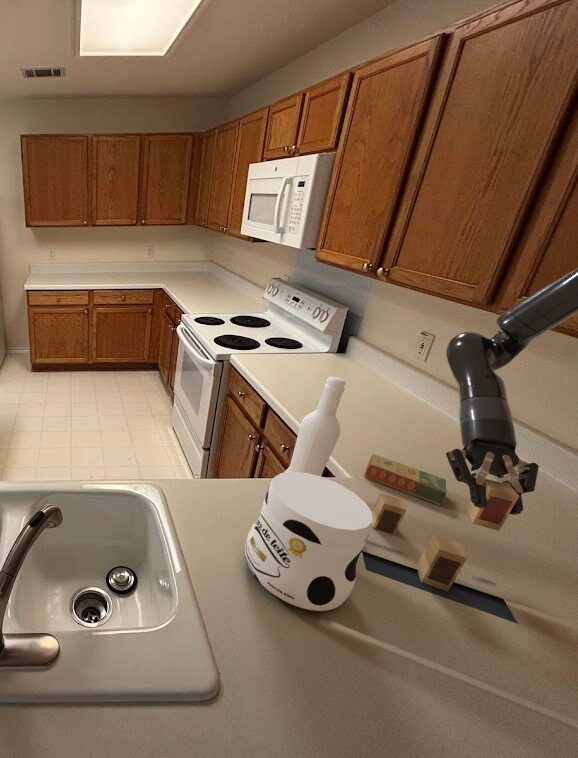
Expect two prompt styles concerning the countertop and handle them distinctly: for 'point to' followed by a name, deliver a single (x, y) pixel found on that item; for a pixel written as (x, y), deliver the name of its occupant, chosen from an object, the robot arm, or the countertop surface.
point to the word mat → (455, 592)
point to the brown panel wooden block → (441, 563)
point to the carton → (407, 479)
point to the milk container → (308, 540)
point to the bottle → (318, 432)
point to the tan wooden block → (388, 513)
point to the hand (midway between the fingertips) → (497, 509)
